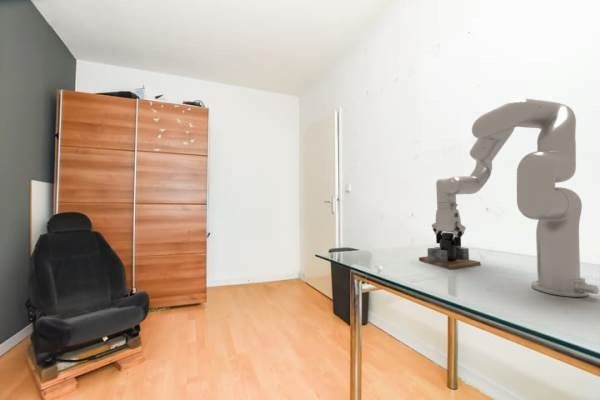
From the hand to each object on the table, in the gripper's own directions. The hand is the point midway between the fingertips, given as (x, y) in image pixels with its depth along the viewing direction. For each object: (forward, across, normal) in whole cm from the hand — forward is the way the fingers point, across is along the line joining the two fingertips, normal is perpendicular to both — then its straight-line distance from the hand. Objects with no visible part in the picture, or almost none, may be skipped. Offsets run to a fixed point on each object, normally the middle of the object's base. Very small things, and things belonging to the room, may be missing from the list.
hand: (448, 244), depth 120 cm
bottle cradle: (+8, 0, 0) cm, 8 cm away
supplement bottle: (+7, 0, 0) cm, 7 cm away
